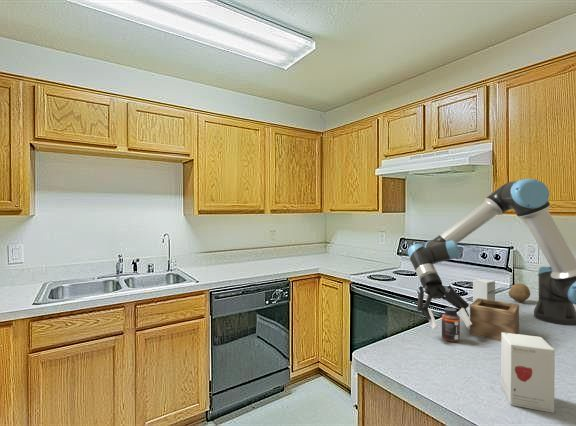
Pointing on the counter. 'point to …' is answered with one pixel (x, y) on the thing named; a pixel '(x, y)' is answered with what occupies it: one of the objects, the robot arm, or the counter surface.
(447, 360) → the counter surface
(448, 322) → the supplement bottle
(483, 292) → the supplement box
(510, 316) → the box
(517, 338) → the supplement box
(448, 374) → the counter surface
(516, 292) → the natural sponge
